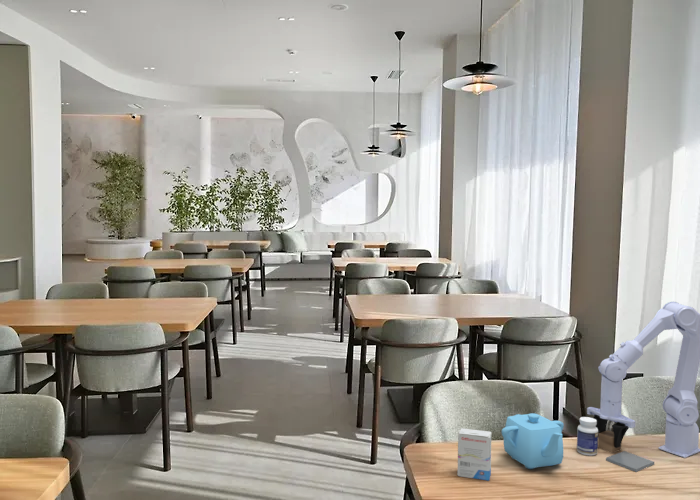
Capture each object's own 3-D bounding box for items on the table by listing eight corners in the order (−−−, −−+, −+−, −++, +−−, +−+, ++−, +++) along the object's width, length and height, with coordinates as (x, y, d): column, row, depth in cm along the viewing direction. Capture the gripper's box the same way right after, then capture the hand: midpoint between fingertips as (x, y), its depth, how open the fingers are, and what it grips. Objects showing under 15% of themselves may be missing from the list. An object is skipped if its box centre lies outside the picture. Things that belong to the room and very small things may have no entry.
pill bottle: (599, 457, 171) (600, 423, 170) (578, 455, 172) (579, 421, 171) (595, 449, 176) (596, 416, 176) (575, 447, 178) (576, 415, 177)
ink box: (491, 473, 160) (492, 430, 159) (489, 481, 155) (490, 437, 154) (459, 468, 163) (460, 426, 162) (456, 476, 158) (457, 433, 157)
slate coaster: (624, 453, 173) (624, 450, 173) (654, 464, 166) (654, 461, 166) (605, 460, 168) (606, 457, 168) (635, 472, 161) (636, 469, 161)
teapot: (493, 464, 166) (494, 417, 165) (512, 445, 179) (513, 401, 178) (561, 480, 156) (562, 430, 155) (574, 458, 169) (576, 413, 169)
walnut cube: (607, 444, 180) (607, 430, 180) (620, 449, 176) (621, 435, 176) (598, 447, 178) (598, 433, 177) (611, 452, 174) (612, 438, 173)
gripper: (581, 395, 180) (580, 438, 181) (626, 408, 168) (624, 455, 169) (595, 391, 184) (594, 434, 185) (640, 404, 172) (638, 450, 172)
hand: (609, 444), depth 177 cm, fingers closed on walnut cube, 4 cm apart
